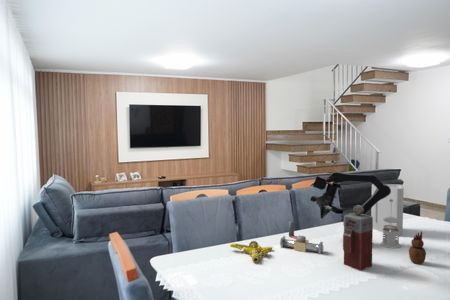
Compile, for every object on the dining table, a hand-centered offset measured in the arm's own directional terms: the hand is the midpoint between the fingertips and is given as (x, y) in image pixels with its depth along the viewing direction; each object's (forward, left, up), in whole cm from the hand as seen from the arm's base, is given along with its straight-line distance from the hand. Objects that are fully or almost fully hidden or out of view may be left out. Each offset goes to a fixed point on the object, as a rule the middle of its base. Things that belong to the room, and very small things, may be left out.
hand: (321, 218), depth 189 cm
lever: (+7, +20, -8) cm, 22 cm away
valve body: (+4, +21, -12) cm, 25 cm away
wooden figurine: (-48, +9, -12) cm, 50 cm away
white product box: (-31, -40, -12) cm, 52 cm away
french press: (-34, -12, -12) cm, 38 cm away
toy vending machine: (-25, +28, -12) cm, 39 cm away
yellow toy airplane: (+22, +42, -13) cm, 49 cm away
